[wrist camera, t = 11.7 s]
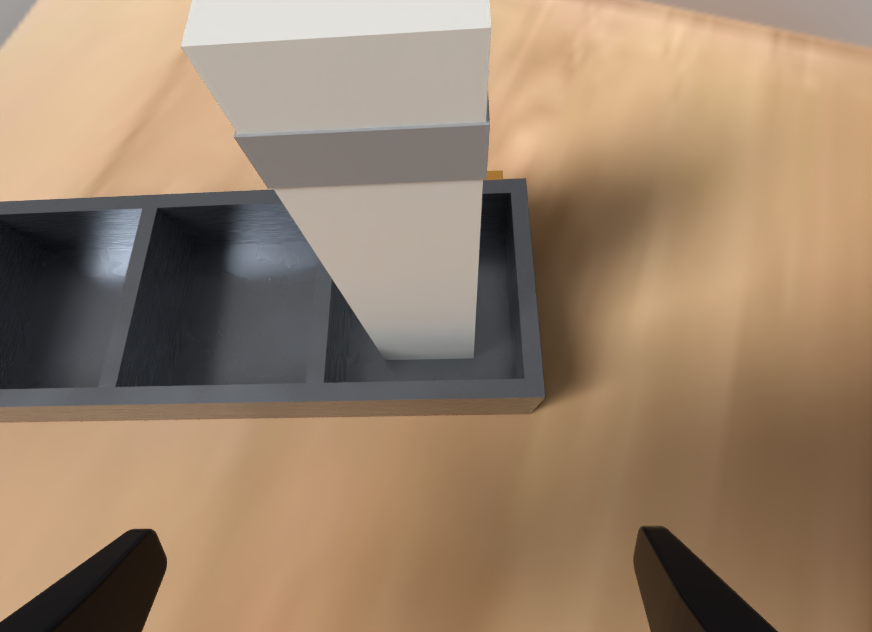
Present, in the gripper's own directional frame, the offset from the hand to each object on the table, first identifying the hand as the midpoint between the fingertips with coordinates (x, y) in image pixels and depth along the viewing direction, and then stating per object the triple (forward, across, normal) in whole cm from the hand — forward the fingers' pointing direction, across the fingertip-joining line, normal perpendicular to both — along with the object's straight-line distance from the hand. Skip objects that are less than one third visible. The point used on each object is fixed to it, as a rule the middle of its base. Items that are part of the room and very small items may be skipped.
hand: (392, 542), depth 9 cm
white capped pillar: (+11, 0, 0) cm, 11 cm away
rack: (+12, +7, +1) cm, 14 cm away
